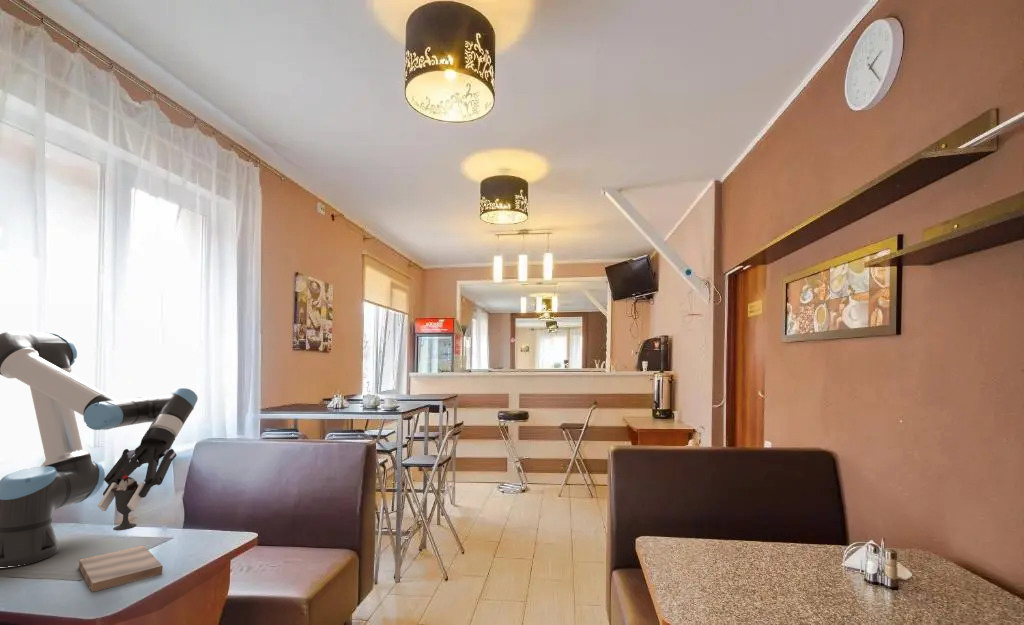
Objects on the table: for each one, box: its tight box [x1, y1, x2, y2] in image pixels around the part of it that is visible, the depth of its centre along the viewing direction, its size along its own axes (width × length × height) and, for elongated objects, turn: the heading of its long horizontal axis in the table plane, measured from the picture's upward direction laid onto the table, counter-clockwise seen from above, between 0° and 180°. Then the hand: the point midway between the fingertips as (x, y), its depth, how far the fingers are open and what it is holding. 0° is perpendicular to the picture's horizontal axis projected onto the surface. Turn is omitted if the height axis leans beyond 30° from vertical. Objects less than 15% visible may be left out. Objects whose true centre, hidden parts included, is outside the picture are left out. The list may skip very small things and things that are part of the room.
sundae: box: [111, 469, 140, 532], centre depth 132 cm, size 7×7×15 cm
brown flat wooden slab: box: [78, 545, 164, 593], centre depth 130 cm, size 20×14×2 cm
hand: (116, 508), depth 128 cm, fingers closed on sundae, 6 cm apart
